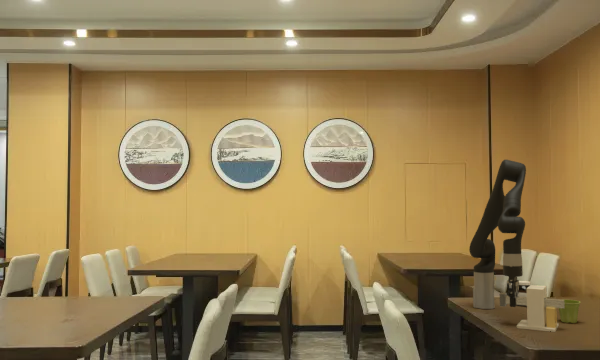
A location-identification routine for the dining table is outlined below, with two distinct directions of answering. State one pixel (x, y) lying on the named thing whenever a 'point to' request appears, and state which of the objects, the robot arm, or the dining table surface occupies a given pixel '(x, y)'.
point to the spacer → (551, 317)
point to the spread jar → (523, 289)
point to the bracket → (536, 310)
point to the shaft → (523, 301)
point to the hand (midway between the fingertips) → (513, 305)
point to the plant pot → (569, 311)
